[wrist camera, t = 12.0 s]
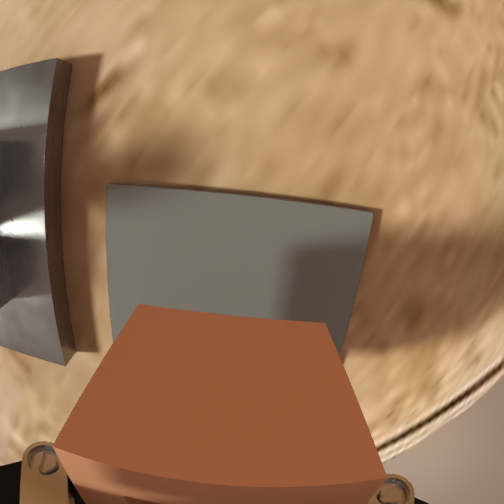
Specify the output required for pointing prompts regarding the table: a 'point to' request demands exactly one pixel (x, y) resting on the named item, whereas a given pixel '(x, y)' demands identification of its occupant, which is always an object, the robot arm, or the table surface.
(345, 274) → the mat
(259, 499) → the collar
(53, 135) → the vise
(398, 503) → the robot arm
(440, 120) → the table surface
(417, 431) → the table surface
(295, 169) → the table surface
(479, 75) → the table surface
